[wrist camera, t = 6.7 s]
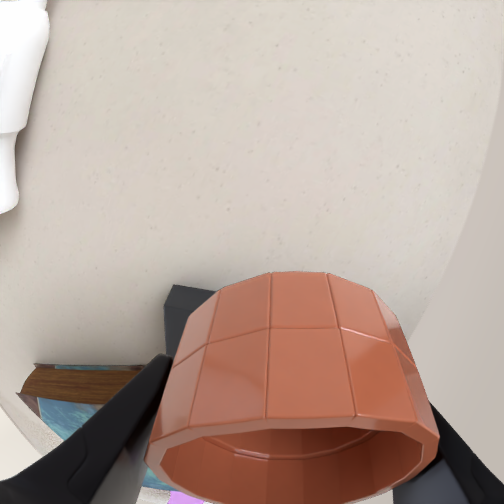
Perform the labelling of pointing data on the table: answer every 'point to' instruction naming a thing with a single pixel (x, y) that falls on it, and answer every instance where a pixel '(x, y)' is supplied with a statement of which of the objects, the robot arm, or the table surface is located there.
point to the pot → (292, 397)
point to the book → (77, 398)
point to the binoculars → (18, 80)
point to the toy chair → (183, 499)
